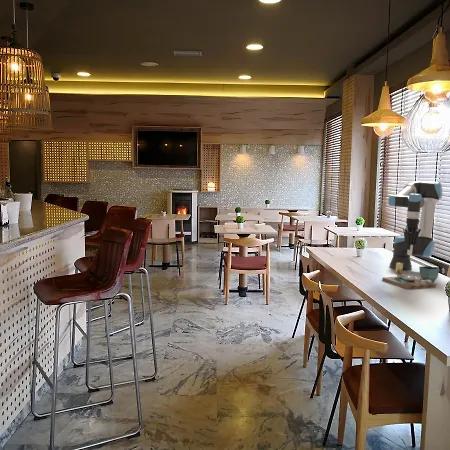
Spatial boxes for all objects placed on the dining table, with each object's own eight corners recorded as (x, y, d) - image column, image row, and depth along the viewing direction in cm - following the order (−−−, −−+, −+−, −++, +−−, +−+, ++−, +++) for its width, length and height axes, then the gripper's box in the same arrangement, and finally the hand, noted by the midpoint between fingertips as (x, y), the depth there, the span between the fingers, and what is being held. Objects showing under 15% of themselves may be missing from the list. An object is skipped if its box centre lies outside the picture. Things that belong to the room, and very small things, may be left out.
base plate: (409, 278, 310) (409, 273, 309) (435, 287, 289) (436, 281, 289) (382, 280, 301) (382, 275, 301) (407, 289, 281) (408, 283, 281)
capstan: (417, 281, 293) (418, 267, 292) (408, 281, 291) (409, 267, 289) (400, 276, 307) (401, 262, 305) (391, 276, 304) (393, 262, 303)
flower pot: (417, 279, 308) (418, 266, 307) (428, 279, 311) (429, 265, 310) (427, 283, 300) (429, 269, 299) (438, 282, 303) (439, 268, 302)
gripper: (409, 218, 296) (405, 256, 298) (425, 218, 301) (421, 255, 303) (400, 217, 303) (397, 253, 305) (416, 217, 308) (413, 253, 310)
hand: (409, 254), depth 304 cm, fingers closed
